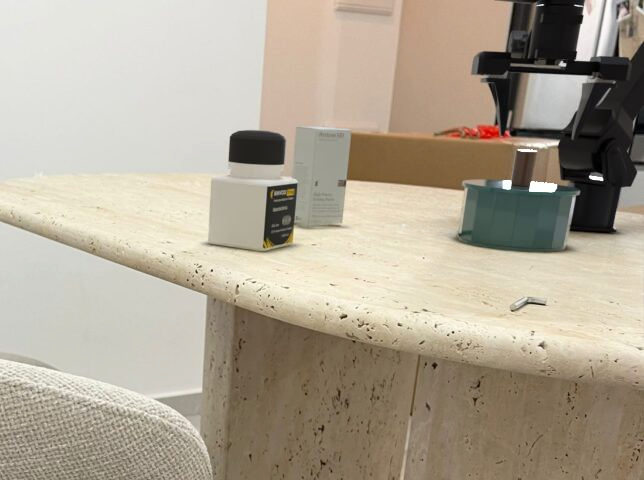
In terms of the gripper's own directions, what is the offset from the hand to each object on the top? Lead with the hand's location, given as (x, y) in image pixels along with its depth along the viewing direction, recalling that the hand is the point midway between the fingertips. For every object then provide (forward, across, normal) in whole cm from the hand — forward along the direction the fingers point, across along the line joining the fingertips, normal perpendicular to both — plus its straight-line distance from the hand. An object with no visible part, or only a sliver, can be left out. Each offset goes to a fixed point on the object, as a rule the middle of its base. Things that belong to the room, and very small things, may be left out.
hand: (537, 137), depth 124 cm
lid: (+6, +4, +14) cm, 16 cm away
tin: (+12, +4, +14) cm, 19 cm away
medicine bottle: (+12, +35, +29) cm, 47 cm away
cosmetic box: (+12, +28, +9) cm, 32 cm away
